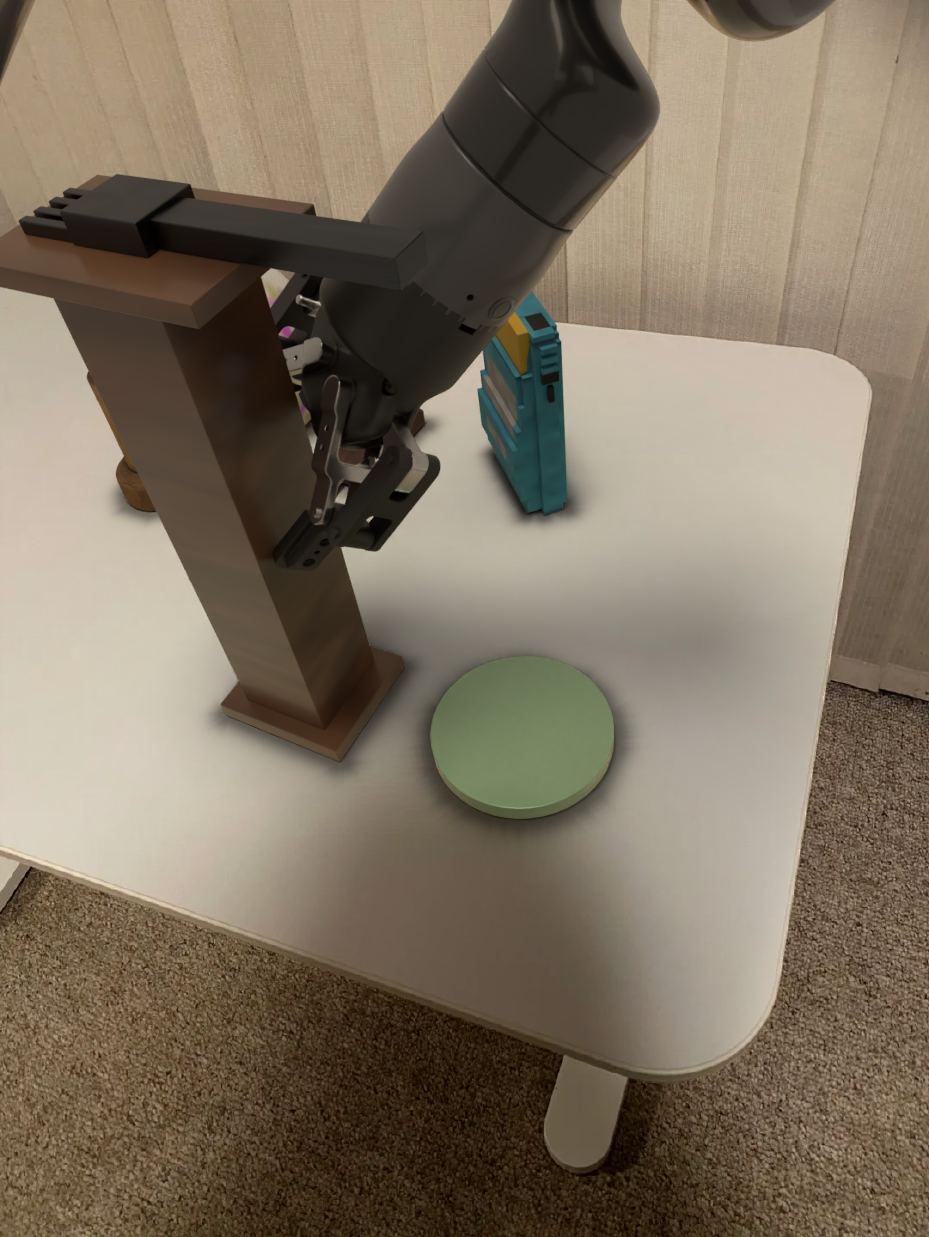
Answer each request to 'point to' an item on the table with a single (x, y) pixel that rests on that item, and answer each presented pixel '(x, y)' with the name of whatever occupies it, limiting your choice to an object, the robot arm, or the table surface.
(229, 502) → the stand
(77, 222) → the fork
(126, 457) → the mortar and pestle
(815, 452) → the table surface
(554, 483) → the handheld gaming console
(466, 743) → the plate
